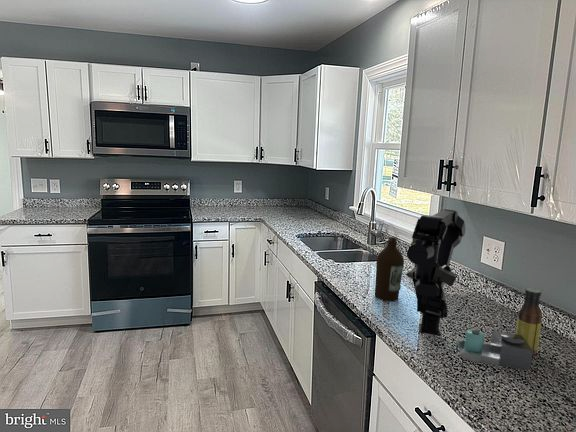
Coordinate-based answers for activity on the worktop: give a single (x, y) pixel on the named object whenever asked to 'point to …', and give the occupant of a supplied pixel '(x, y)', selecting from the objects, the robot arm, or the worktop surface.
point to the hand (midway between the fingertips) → (421, 307)
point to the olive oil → (389, 272)
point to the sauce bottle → (530, 319)
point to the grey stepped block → (501, 351)
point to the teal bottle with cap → (474, 341)
